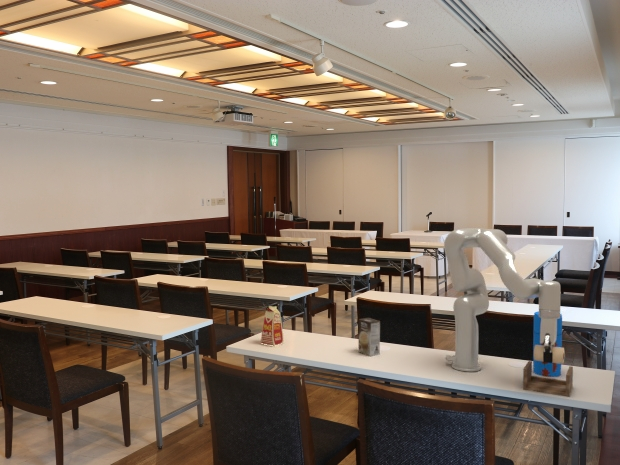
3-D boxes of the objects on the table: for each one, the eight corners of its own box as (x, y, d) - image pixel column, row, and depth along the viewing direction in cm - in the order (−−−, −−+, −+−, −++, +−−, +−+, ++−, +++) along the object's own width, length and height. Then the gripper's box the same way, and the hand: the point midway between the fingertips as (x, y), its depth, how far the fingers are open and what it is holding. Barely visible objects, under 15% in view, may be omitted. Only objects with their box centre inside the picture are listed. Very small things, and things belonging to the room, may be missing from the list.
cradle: (523, 389, 211) (523, 368, 210) (528, 380, 221) (528, 360, 220) (569, 396, 202) (569, 375, 202) (572, 387, 213) (572, 366, 212)
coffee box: (357, 352, 264) (357, 319, 263) (367, 350, 267) (367, 317, 267) (370, 356, 256) (370, 322, 255) (380, 354, 260) (380, 320, 259)
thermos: (537, 367, 238) (538, 310, 237) (564, 372, 231) (565, 313, 230) (529, 373, 230) (530, 314, 228) (556, 378, 223) (557, 317, 221)
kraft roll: (532, 362, 211) (532, 346, 211) (535, 357, 216) (535, 342, 216) (563, 366, 206) (563, 350, 205) (565, 361, 211) (565, 346, 210)
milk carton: (274, 347, 274) (273, 307, 273) (259, 344, 279) (259, 305, 278) (285, 343, 282) (284, 304, 281) (270, 340, 287) (270, 302, 286)
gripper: (542, 308, 219) (541, 353, 220) (535, 316, 205) (535, 364, 205) (562, 310, 216) (562, 356, 216) (557, 318, 201) (556, 367, 202)
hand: (549, 359), depth 211 cm, fingers closed on kraft roll, 6 cm apart
